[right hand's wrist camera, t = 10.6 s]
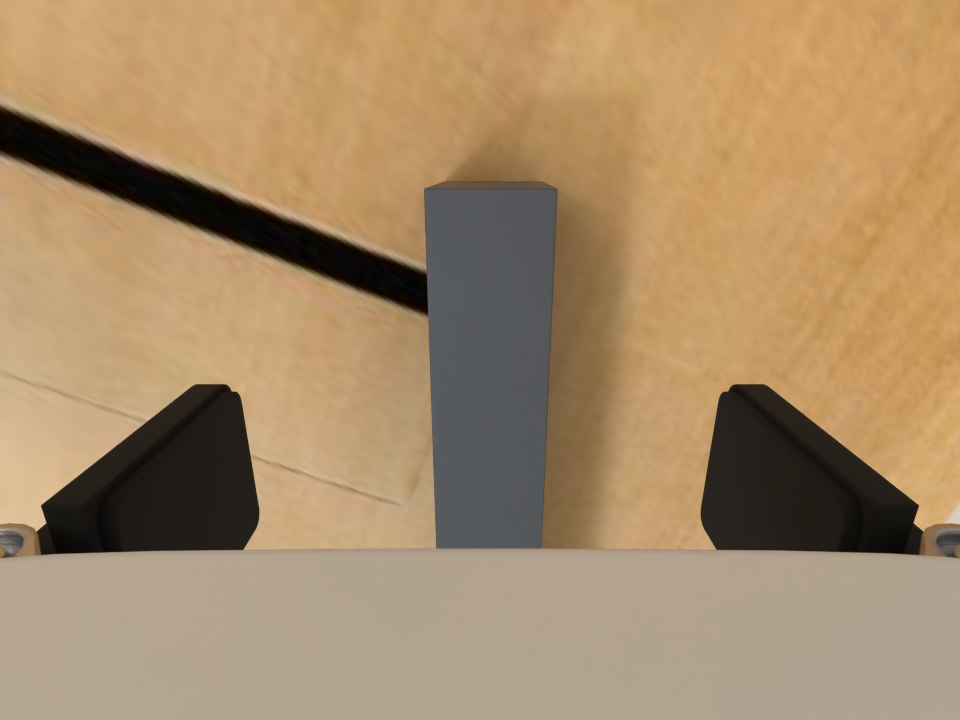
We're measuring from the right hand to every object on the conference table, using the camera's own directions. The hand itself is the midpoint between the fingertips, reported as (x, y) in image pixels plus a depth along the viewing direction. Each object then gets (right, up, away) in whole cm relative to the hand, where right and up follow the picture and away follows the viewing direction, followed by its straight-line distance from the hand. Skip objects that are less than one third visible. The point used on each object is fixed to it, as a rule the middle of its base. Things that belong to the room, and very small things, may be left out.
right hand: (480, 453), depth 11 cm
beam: (+1, -21, +30) cm, 37 cm away
